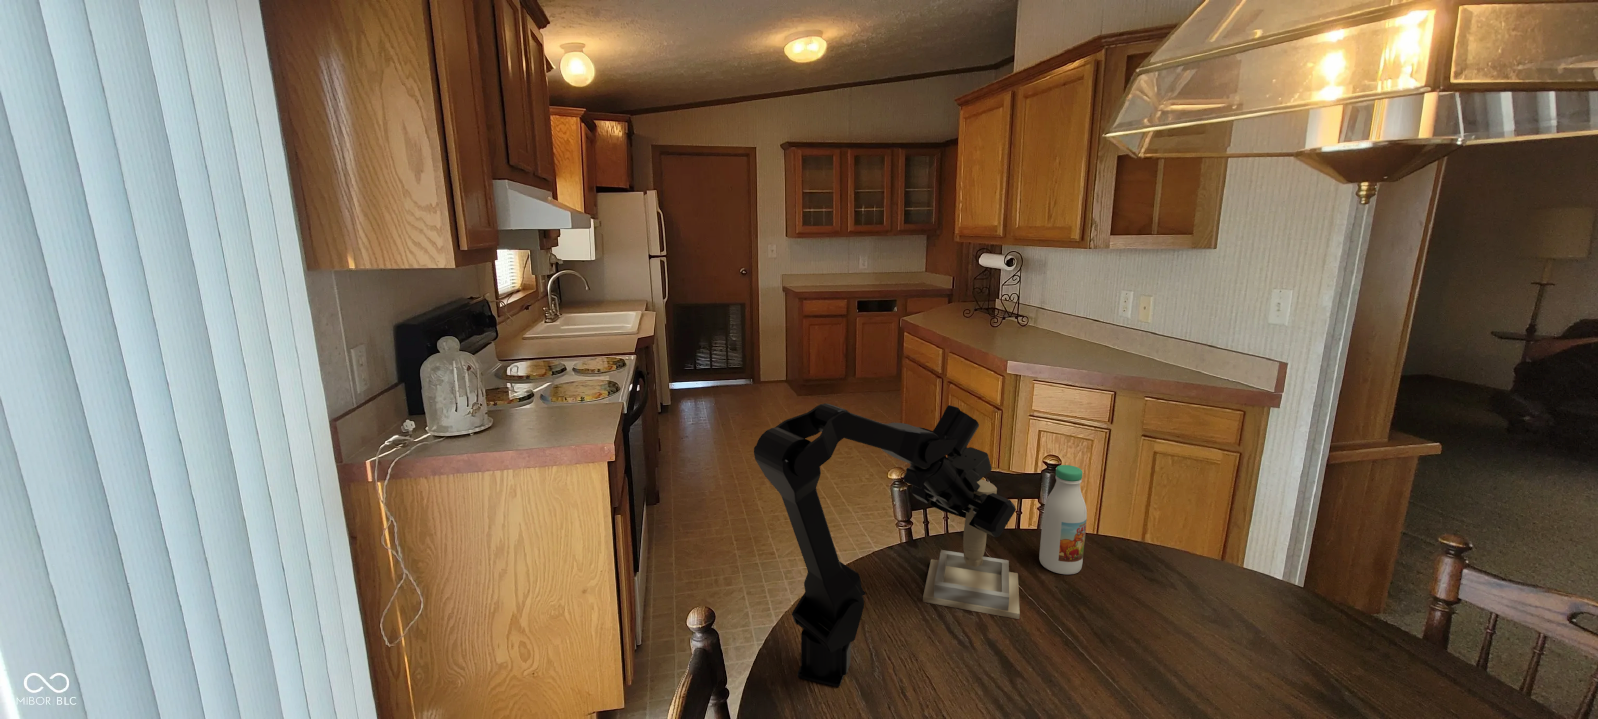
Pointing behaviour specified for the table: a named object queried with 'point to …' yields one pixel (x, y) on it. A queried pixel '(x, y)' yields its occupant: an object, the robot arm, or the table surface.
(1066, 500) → the milk bottle
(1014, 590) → the board
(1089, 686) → the table surface
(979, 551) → the handle
